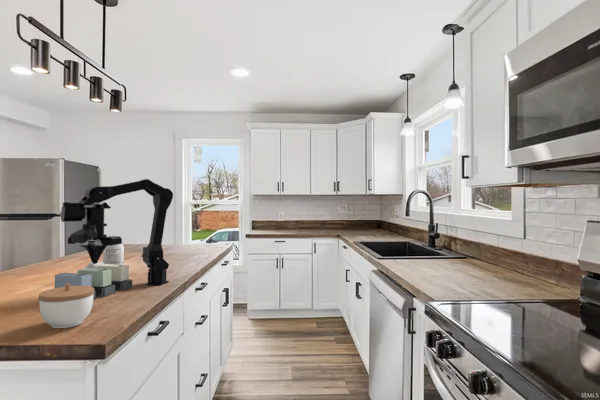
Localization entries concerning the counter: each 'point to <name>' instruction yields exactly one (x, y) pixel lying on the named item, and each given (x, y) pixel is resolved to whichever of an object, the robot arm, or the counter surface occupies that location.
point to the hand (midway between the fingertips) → (94, 263)
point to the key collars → (111, 288)
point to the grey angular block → (94, 265)
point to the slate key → (73, 279)
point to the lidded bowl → (66, 305)
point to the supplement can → (114, 254)
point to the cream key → (117, 271)
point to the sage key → (98, 276)
